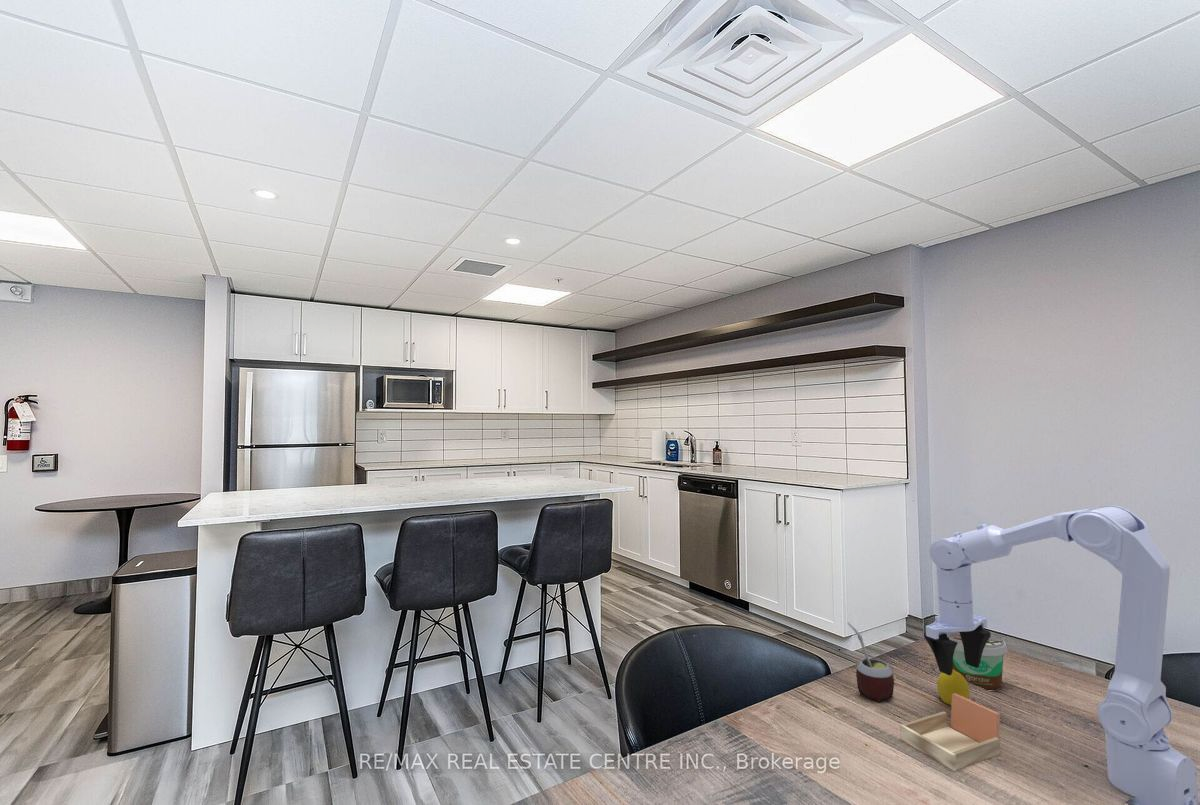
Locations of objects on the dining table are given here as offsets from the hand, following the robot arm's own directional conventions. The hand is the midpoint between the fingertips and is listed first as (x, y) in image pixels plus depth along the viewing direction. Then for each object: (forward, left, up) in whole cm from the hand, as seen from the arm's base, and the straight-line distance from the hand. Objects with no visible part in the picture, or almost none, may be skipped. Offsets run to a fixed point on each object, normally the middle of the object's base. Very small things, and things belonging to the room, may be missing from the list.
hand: (959, 669), depth 108 cm
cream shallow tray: (-7, +12, -10) cm, 17 cm away
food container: (+7, -17, -10) cm, 21 cm away
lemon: (+3, -3, -10) cm, 11 cm away
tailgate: (-7, +7, -8) cm, 12 cm away
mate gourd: (+12, +9, -10) cm, 19 cm away
